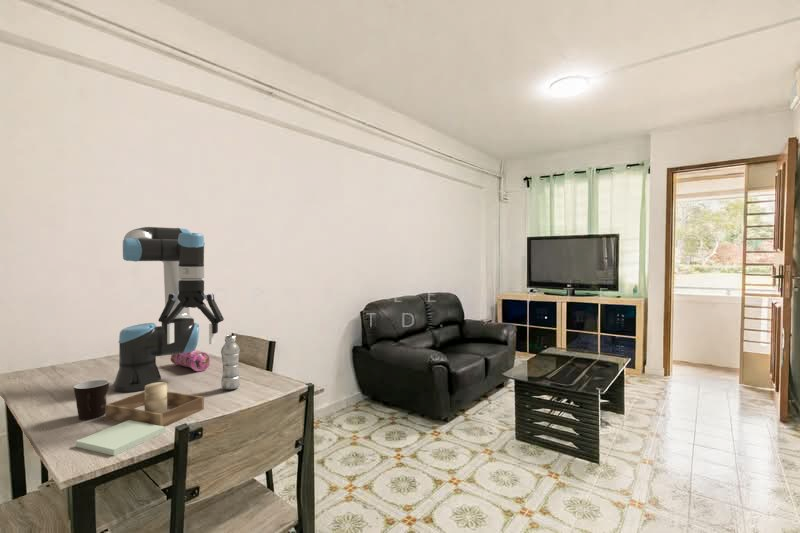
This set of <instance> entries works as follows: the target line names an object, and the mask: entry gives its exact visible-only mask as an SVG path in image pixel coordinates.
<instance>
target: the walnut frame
mask: <svg viewBox="0 0 800 533" xmlns="http://www.w3.org/2000/svg"><path fill="white" fill-rule="evenodd" d="M167 405H171V406H176V407H173V408H170V409H167V411H165V412H163V413H156V412H150V411H145V409H138V408H139V407H142V406H145V391H143V392H140V393H136V394H135V395H131V396H128V397H125V398H122V399H119V400H115V401H113V402H110V403H106V405H105V415H104V416H105V419H108V420H113V421H120V422H122V423H123V422H125V421H128V420H132V421H137V422H143V423H148V424H153V425H158V426H164V427H165V428H166V427H168V426H169V425H172V424H174V423H176V422H178V421H180V420H183V419H184V418H188V417H189V416H193V415H194V414H196V413H198V412H200V411H202V410H204V409H205V397H204V396H201V395H195V394H194V395H193V394H187V393H181V392H175V391H168V390H167Z"/></svg>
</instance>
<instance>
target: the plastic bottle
mask: <svg viewBox="0 0 800 533" xmlns="http://www.w3.org/2000/svg"><path fill="white" fill-rule="evenodd" d="M236 341H237V337H236V335H235V334H229V335H225V337H224V344H223V346H222V347H221V349H220V354H221V360H222V362H221V363H222V373H221V374H222V375H221V379H220V380H221V382H220V384H221V385H220V386H221V388H222V389H223V390H226V391H227V390H228V391H229V390H230V391H231V390H235V389H238V388H239V387H240V385H241V384H240V383H241V377H240V374H239V371H240V370H239V358H240V351H241V350H240V346H239V345H238V343H236Z"/></svg>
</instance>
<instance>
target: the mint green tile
mask: <svg viewBox="0 0 800 533" xmlns="http://www.w3.org/2000/svg"><path fill="white" fill-rule="evenodd" d="M165 432H166V426H165V427H164V426H158V425H153V424H148V423H143V422H137V421H132V420H128V421H125V422H123V421H122V422H120V423H118V424H116V425H113V426H110V427H108V428H105V429H103V430H100V431H97V432H95V433H92V434H90V435H87V436H84V437H82V438H80V439H77V440H75V447H76V448H80V449H85V450H89V451H93V452H97V453H101V454H105V455H110V456H117V455H119V454H121V453H122V452H125V451H128V450H129V449H132V448H135V447H136V446H138V445H140V444H142V443H144V442H147V441H149V440H151V439H153V438H155V437H157V436H160V435H162V434H164V433H165Z"/></svg>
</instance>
